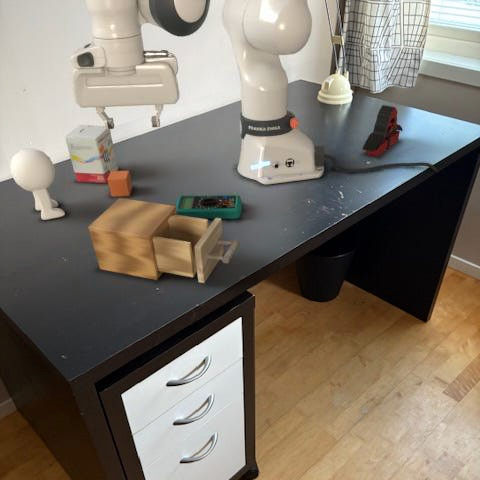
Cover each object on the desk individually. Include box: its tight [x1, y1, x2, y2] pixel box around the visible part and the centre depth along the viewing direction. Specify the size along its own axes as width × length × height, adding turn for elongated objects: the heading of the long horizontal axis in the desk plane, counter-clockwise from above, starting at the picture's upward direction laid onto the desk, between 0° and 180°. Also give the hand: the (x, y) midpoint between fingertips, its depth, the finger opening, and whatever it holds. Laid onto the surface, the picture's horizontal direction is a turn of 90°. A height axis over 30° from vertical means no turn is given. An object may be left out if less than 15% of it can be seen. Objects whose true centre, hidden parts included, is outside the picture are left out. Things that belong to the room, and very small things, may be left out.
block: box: [107, 170, 133, 198], centre depth 117 cm, size 4×4×4 cm
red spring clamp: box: [361, 104, 404, 158], centre depth 128 cm, size 18×4×11 cm, turn 142°
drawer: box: [152, 214, 241, 284], centre depth 90 cm, size 16×10×8 cm, turn 71°
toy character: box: [9, 148, 66, 221], centre depth 107 cm, size 9×9×15 cm
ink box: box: [64, 124, 119, 184], centre depth 122 cm, size 9×9×12 cm
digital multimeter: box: [175, 194, 243, 220], centre depth 108 cm, size 7×15×3 cm, turn 88°
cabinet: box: [88, 197, 177, 281], centre depth 93 cm, size 13×12×10 cm
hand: (133, 127), depth 98 cm, fingers open, 8 cm apart
